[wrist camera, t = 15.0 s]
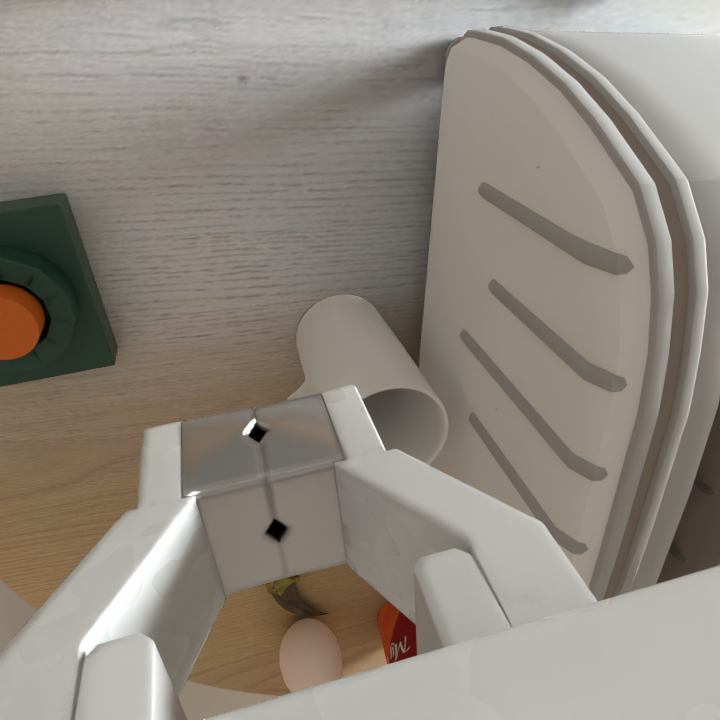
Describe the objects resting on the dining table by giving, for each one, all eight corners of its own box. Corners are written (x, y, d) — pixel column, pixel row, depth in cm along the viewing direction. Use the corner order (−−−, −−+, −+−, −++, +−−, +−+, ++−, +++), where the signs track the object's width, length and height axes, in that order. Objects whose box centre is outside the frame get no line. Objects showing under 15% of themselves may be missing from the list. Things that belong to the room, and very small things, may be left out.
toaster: (383, 573, 56) (486, 857, 38) (420, 21, 33) (730, 50, 15) (586, 533, 61) (765, 767, 42) (739, 29, 38) (1271, 58, 20)
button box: (-94, 215, 32) (-126, 240, 28) (65, 192, 33) (52, 214, 30) (-17, 373, 37) (-36, 409, 34) (118, 347, 38) (112, 380, 35)
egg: (332, 635, 59) (351, 714, 52) (276, 647, 58) (288, 731, 51) (331, 598, 56) (351, 677, 50) (272, 610, 55) (285, 694, 48)
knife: (331, 617, 56) (278, 635, 55) (328, 609, 57) (276, 626, 56) (313, 505, 48) (252, 523, 47) (310, 498, 49) (250, 515, 48)
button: (-44, 290, 31) (-55, 304, 29) (31, 277, 31) (24, 291, 30) (-15, 350, 33) (-24, 366, 31) (55, 337, 33) (49, 353, 32)
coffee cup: (357, 603, 57) (407, 770, 45) (437, 572, 58) (508, 728, 46) (375, 650, 62) (425, 813, 50) (450, 621, 63) (517, 775, 50)
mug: (347, 269, 40) (404, 361, 30) (404, 333, 43) (471, 433, 33) (235, 365, 41) (254, 482, 31) (299, 418, 45) (333, 539, 35)
